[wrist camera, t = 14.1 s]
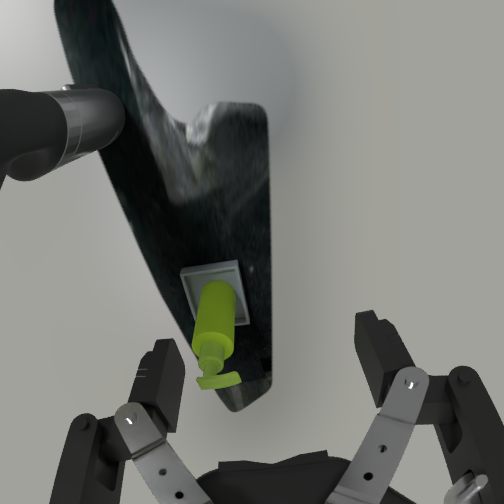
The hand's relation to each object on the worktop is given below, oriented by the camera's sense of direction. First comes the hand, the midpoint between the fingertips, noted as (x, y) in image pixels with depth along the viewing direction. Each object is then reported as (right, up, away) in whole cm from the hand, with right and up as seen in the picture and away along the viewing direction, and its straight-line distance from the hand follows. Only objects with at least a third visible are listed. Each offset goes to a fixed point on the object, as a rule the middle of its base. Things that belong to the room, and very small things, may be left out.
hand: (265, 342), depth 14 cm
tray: (-7, -3, +42) cm, 43 cm away
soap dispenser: (-6, -3, +42) cm, 42 cm away
